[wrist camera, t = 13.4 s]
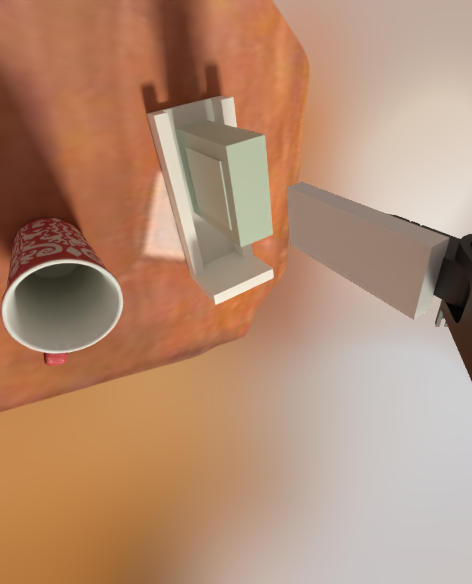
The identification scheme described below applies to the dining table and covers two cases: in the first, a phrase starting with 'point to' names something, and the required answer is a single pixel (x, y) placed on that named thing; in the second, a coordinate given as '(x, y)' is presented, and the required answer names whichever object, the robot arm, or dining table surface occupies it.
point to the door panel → (227, 179)
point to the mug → (58, 291)
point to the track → (192, 228)
